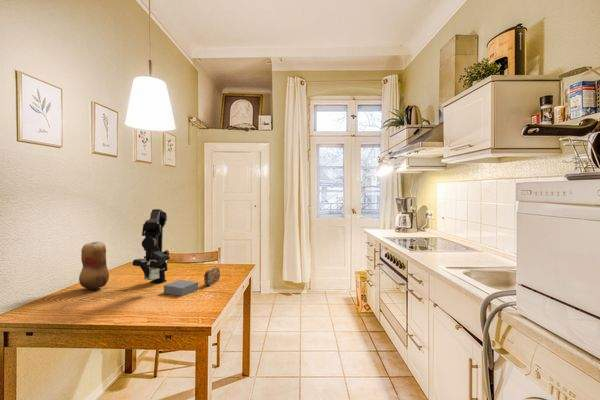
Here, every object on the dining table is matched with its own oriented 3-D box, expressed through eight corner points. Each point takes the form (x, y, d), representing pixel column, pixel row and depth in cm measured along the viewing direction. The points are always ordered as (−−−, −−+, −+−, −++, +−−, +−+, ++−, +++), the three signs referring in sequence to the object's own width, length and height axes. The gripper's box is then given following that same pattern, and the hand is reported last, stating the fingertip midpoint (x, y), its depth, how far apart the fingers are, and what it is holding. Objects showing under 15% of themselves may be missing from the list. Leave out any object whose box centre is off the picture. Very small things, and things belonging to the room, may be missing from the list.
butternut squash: (73, 293, 168) (73, 244, 168) (86, 286, 181) (86, 240, 181) (103, 292, 170) (102, 244, 170) (113, 285, 183) (113, 240, 183)
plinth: (163, 293, 170) (163, 285, 170) (180, 286, 181) (180, 279, 181) (182, 296, 166) (182, 288, 166) (198, 289, 177) (198, 282, 177)
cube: (144, 279, 168) (144, 269, 168) (152, 277, 173) (152, 267, 172) (151, 280, 166) (151, 270, 166) (159, 278, 171) (159, 268, 171)
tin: (208, 287, 181) (208, 272, 181) (203, 287, 182) (203, 271, 182) (220, 280, 196) (220, 266, 196) (215, 279, 197) (215, 265, 197)
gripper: (148, 250, 157) (148, 282, 158) (177, 244, 174) (177, 274, 175) (131, 248, 162) (131, 280, 162) (161, 243, 179) (161, 272, 179)
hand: (151, 276), depth 169 cm, fingers closed on cube, 5 cm apart
